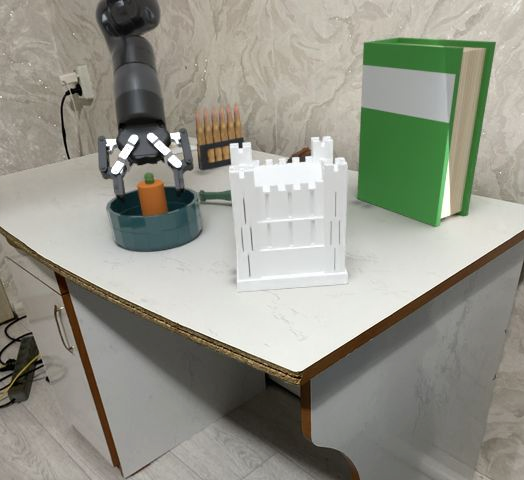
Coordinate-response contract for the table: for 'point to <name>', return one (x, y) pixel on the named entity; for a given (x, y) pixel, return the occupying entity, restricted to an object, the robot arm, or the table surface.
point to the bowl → (155, 221)
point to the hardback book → (422, 124)
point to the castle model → (289, 219)
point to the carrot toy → (152, 196)
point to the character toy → (176, 149)
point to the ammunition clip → (217, 137)
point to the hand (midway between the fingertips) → (151, 197)
